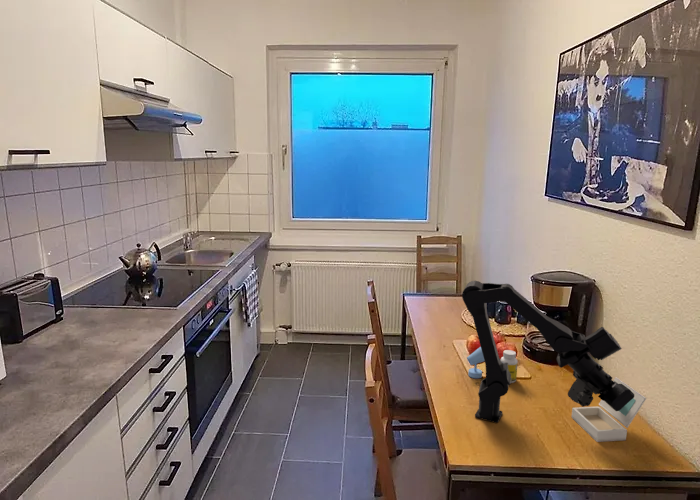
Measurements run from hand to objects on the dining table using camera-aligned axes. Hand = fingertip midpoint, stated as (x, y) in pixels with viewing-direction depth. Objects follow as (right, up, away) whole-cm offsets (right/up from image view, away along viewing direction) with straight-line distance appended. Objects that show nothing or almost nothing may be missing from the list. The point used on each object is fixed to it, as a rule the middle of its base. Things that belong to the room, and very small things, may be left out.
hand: (619, 403), depth 128 cm
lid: (0, +1, 0) cm, 1 cm away
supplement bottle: (-20, -2, +30) cm, 36 cm away
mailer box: (-5, -7, +1) cm, 9 cm away
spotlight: (-30, -1, +33) cm, 45 cm away
